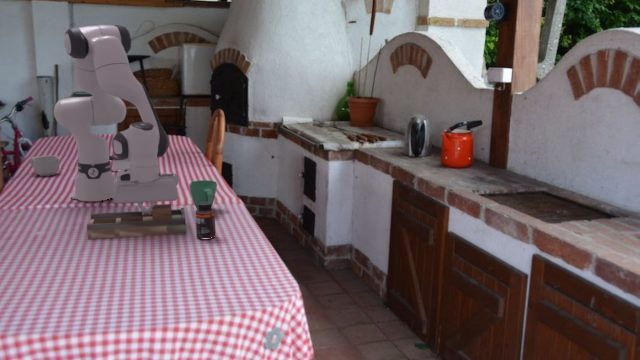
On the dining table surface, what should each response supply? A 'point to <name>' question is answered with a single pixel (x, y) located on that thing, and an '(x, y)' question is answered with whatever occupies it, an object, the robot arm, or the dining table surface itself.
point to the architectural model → (119, 163)
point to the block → (161, 212)
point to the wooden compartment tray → (134, 224)
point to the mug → (203, 191)
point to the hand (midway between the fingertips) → (146, 214)
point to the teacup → (45, 165)
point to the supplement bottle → (205, 220)
